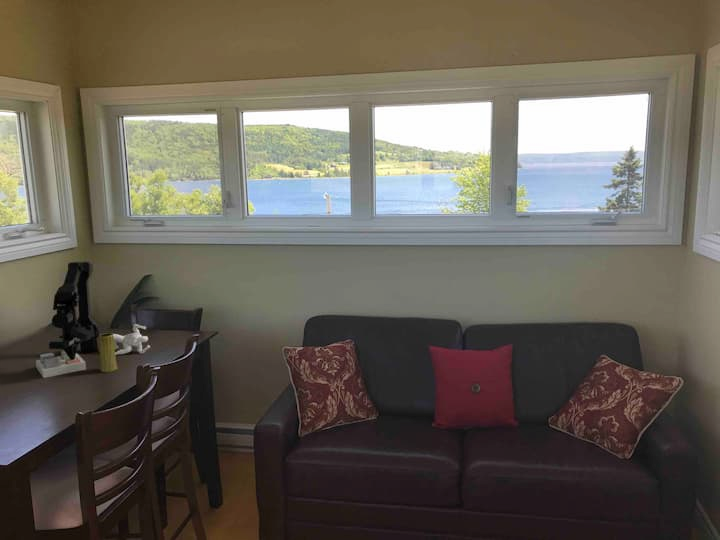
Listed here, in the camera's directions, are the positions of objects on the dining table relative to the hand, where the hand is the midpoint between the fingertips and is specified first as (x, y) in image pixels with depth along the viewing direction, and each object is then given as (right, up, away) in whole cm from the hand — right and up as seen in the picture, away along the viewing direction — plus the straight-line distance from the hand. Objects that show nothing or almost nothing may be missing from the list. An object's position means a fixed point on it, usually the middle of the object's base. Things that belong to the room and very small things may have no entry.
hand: (72, 359), depth 223 cm
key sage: (-5, 0, +6) cm, 8 cm away
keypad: (-5, -4, +1) cm, 7 cm away
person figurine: (+14, -1, +22) cm, 26 cm away
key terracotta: (0, -3, 0) cm, 3 cm away
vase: (+15, -4, -1) cm, 15 cm away
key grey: (-6, -2, -4) cm, 8 cm away
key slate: (-10, -1, +1) cm, 11 cm away
